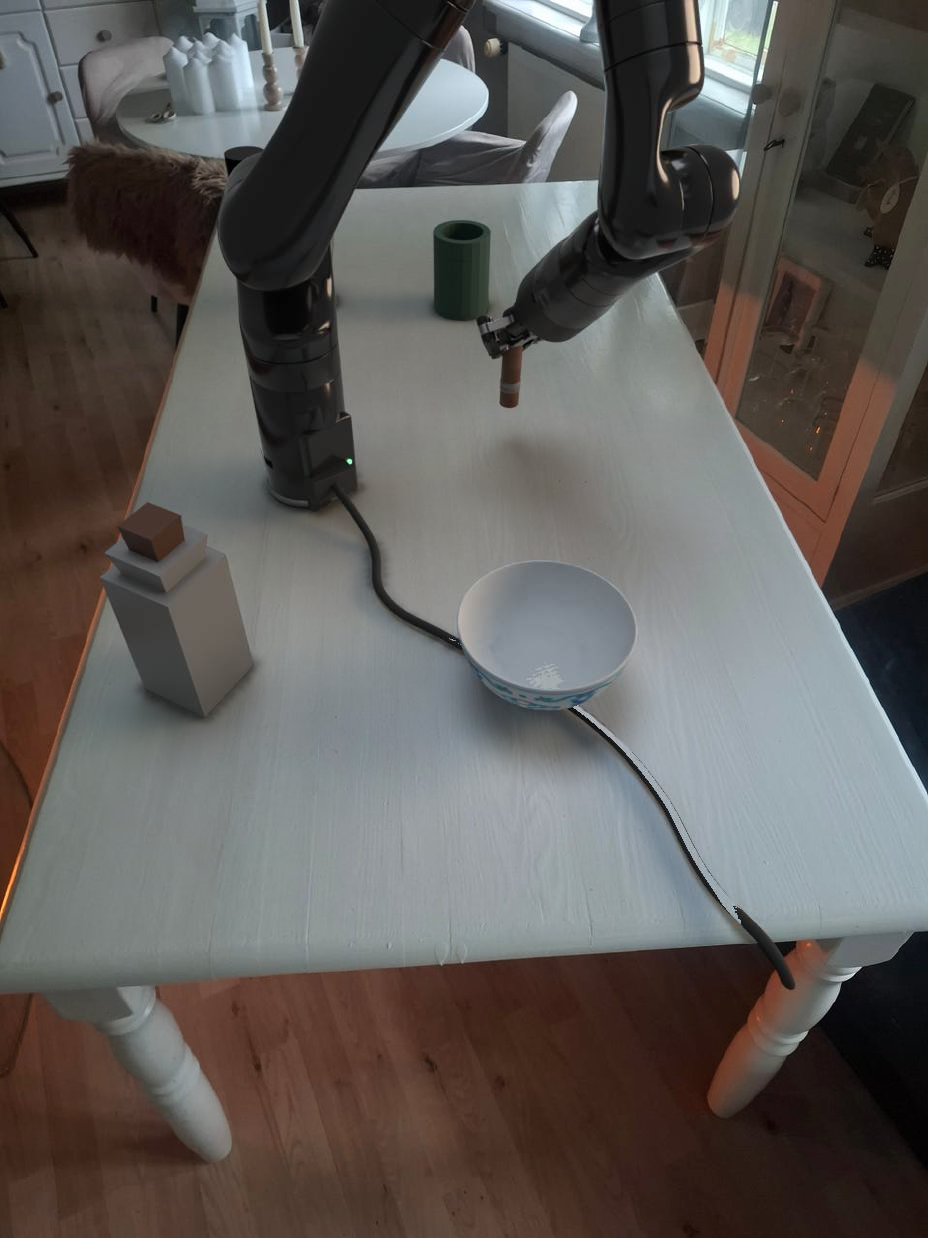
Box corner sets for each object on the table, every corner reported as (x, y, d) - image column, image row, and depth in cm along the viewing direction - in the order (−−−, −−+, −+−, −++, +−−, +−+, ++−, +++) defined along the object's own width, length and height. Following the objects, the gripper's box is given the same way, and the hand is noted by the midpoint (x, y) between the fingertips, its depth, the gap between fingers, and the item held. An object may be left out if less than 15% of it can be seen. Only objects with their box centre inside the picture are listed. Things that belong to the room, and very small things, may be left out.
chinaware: (522, 596, 85) (527, 537, 79) (655, 672, 78) (671, 612, 72) (421, 687, 76) (419, 628, 71) (560, 780, 70) (570, 722, 64)
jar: (498, 307, 126) (502, 231, 118) (461, 325, 122) (462, 248, 114) (460, 290, 130) (461, 214, 122) (423, 307, 126) (421, 230, 118)
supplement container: (226, 219, 147) (214, 153, 139) (257, 207, 150) (247, 142, 143) (252, 230, 144) (242, 163, 136) (283, 218, 147) (274, 152, 140)
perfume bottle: (144, 688, 76) (81, 532, 63) (195, 638, 80) (145, 482, 67) (205, 717, 74) (152, 562, 61) (253, 664, 78) (214, 509, 65)
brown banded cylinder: (522, 403, 99) (529, 321, 92) (509, 410, 98) (515, 328, 91) (508, 395, 101) (513, 314, 93) (494, 402, 99) (499, 321, 92)
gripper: (622, 235, 82) (546, 303, 98) (493, 260, 78) (436, 327, 94) (644, 312, 83) (565, 367, 99) (517, 341, 78) (457, 393, 95)
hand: (503, 347), depth 96 cm, fingers closed on brown banded cylinder, 2 cm apart
